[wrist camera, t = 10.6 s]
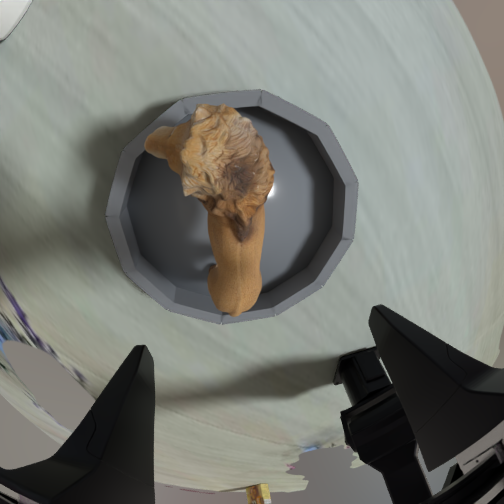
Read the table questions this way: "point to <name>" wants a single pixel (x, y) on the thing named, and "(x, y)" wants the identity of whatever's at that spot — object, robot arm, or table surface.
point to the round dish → (276, 209)
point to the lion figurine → (223, 194)
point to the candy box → (258, 494)
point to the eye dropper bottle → (11, 15)
